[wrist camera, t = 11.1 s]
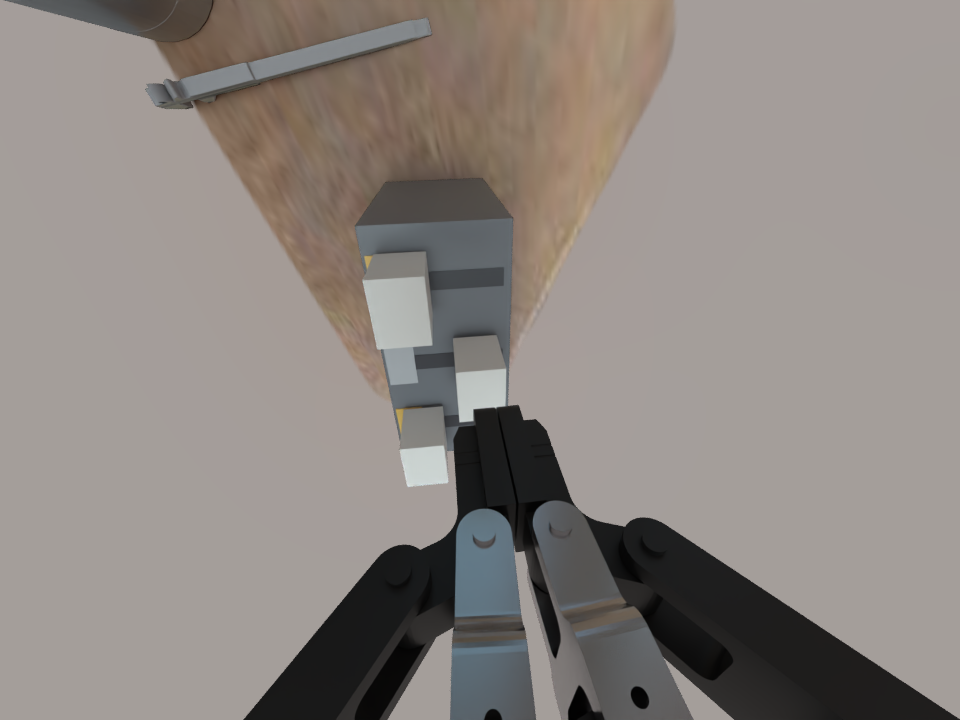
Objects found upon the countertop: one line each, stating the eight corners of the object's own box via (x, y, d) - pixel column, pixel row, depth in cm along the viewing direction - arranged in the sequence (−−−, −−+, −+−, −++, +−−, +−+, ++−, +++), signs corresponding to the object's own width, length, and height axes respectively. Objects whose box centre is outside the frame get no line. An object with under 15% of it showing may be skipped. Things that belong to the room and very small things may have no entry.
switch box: (412, 353, 44) (402, 456, 31) (385, 182, 33) (354, 226, 20) (485, 348, 45) (507, 445, 32) (482, 177, 34) (513, 218, 21)
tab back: (410, 445, 30) (407, 487, 27) (403, 409, 28) (399, 449, 24) (446, 442, 30) (448, 482, 27) (442, 406, 28) (444, 445, 25)
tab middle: (456, 384, 27) (459, 422, 24) (452, 338, 25) (455, 372, 21) (496, 381, 27) (505, 418, 24) (496, 334, 25) (506, 368, 22)
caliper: (190, 110, 29) (139, 110, 24) (180, 94, 29) (125, 90, 24) (432, 35, 28) (432, 18, 23) (427, 17, 28) (426, -5, 23)
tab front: (385, 316, 23) (377, 349, 20) (373, 254, 21) (362, 280, 18) (432, 312, 23) (432, 345, 20) (425, 251, 21) (424, 276, 18)
